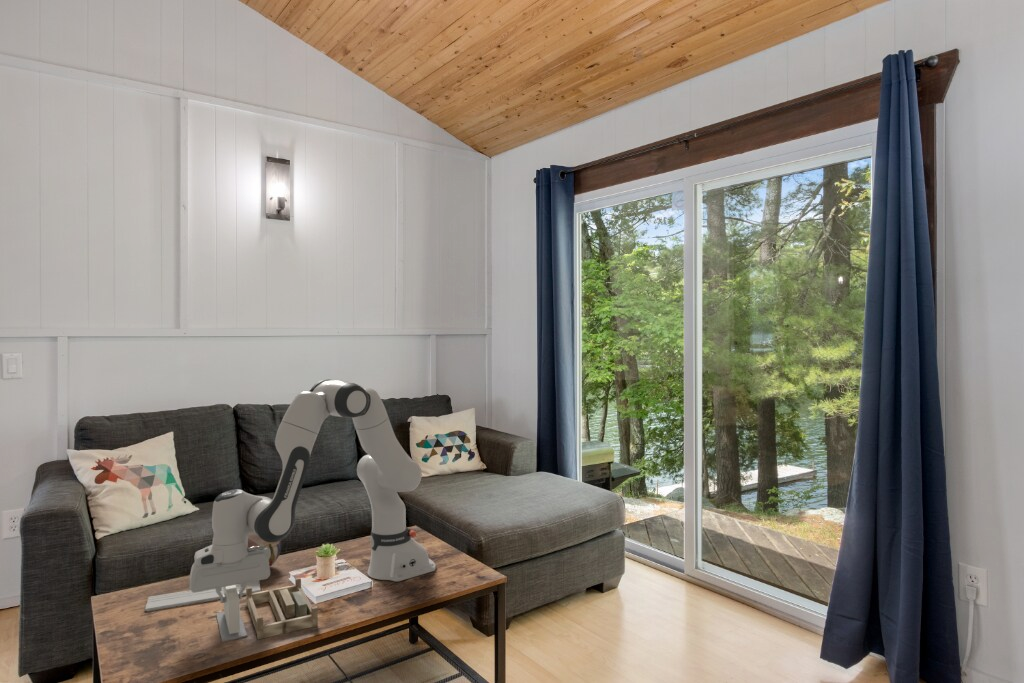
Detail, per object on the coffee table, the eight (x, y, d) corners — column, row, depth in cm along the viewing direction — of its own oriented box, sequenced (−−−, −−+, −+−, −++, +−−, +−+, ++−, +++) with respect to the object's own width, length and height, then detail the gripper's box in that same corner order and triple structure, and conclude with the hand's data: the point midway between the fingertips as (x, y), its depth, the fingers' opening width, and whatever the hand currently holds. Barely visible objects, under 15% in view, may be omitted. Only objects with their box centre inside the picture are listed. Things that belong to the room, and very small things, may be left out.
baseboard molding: (149, 598, 193) (145, 614, 182) (149, 588, 193) (145, 604, 182) (258, 580, 206) (261, 594, 195) (258, 571, 206) (260, 585, 195)
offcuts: (296, 598, 191) (296, 583, 191) (307, 619, 177) (306, 603, 177) (279, 601, 189) (279, 586, 188) (289, 623, 175) (289, 607, 175)
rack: (300, 593, 195) (300, 577, 195) (317, 625, 173) (317, 607, 173) (246, 604, 187) (246, 587, 187) (257, 639, 166) (257, 620, 166)
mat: (239, 610, 183) (239, 608, 183) (246, 636, 167) (246, 635, 167) (216, 614, 180) (216, 613, 180) (221, 642, 165) (221, 640, 165)
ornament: (279, 576, 208) (278, 531, 207) (230, 581, 204) (229, 535, 204) (283, 559, 222) (282, 517, 222) (237, 564, 219) (236, 521, 218)
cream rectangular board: (233, 608, 181) (232, 577, 181) (239, 631, 168) (239, 598, 167) (223, 610, 180) (223, 579, 180) (229, 634, 166) (228, 600, 166)
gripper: (268, 540, 181) (269, 588, 182) (188, 553, 171) (189, 604, 172) (272, 547, 176) (272, 596, 176) (189, 561, 166) (190, 613, 166)
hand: (231, 600), depth 174 cm, fingers closed on cream rectangular board, 2 cm apart
